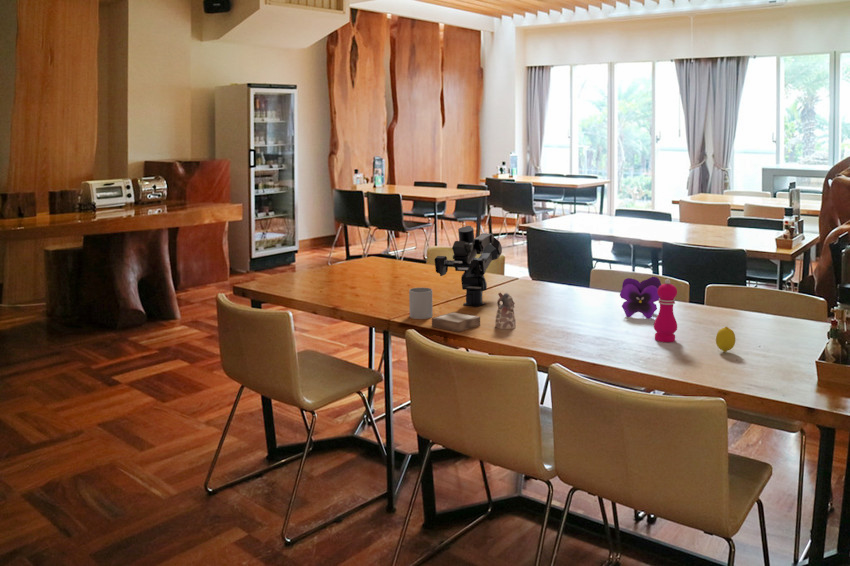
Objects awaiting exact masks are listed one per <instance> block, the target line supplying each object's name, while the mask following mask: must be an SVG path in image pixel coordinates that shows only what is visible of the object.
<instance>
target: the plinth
mask: <svg viewBox="0 0 850 566" xmlns="http://www.w3.org/2000/svg"><path fill="white" fill-rule="evenodd" d="M479 326H481V316H477V315H471V314H466V313H462V312H461V313H460V312H457V311H452V312H450V313H444V314H442V315H437V316H434V317H431V327H432V328H437V329H442V330H446V331H452V332H456V333H460V332H463V331H466V330H470V329H472V328H476V327H479Z"/></svg>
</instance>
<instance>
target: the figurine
mask: <svg viewBox="0 0 850 566" xmlns="http://www.w3.org/2000/svg"><path fill="white" fill-rule="evenodd" d="M497 295H498V296H499V297H498V299H497V303H496V304H497V311H496V315H495V322H494V325H495V327H496V328H497V329H499V330H500V329H501V330H511V329H513V330H514V329H516V327H517V325H516V318H515V311H514V308H515V301H514V300H513V297H512V295H510V294H509V293H508V292H505V293H503V294H502V292H501V291H500V292H498V294H497ZM500 302H502V304H501V303H500Z"/></svg>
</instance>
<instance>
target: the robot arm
mask: <svg viewBox="0 0 850 566" xmlns="http://www.w3.org/2000/svg"><path fill="white" fill-rule="evenodd" d="M474 230H475V229H474V227H472V225H466V226H462V227H460V228H458V229H457V231H458V232H457V233H458V239H459V240H454V243H453V244H452V247H451V249H452V253H453V254H452V259H451V260H450V259H448V258H447V256H445V255H437V256H436V257H435V258H434V269H435V273H437V274H439V276H440V277H443V276H445V275H447V273H448V269H449V268H454V269H455V272H463V274H461V278H460V279H461V280H460V281H461V288H462V290H463V291H464V290H465V292H466V294H465V302H464V303H463V306H467V307H468V306H469V307H474V308H476V307H477V308H478V307H480V306H484V305H486V302H483V292H484V291H487V289H488V286H487V285H488V284H487V281H486V278H485V274H486V270H487V269H488V267H489V266H490V264H491V263H492V261H495V260H498V259H499V257H500V256H501V255H502V253H503V248H502V244H501V242H500V241H499V240H498V238H496V237H495V236H494V235H495V234H492V233H485V232H483V233H481V234H480V235H478V236H477V237H475V231H474ZM477 255H480V256H479V257H477Z"/></svg>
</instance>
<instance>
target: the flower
mask: <svg viewBox="0 0 850 566" xmlns="http://www.w3.org/2000/svg"><path fill="white" fill-rule="evenodd" d="M661 285H662V282H661V281H660V278H659V277H657V276H651V277H649V278H647V279H644V280H641V281H639V280H637V279H635V278H630V277H629V278H628V277H627V278H625V279H624V280H623V281H622V286H621V290H620V293H619V297H620V298H621V299H622V300H625V301H624V302H623V303H622V305H621V308H622V309H623V311H624V313H625V316H626V317H627V318H628V317H629V318H631V317H632V316H634V315H635V314H636V313H641V314H642V315H643V316H644V318H646V319H652V317H653V315H654V313H655V312H657V310H658V307H657V304H656V303H655V302H659V298H660V297H659V296H658V293H657V291H658V288H659V286H661Z"/></svg>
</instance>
